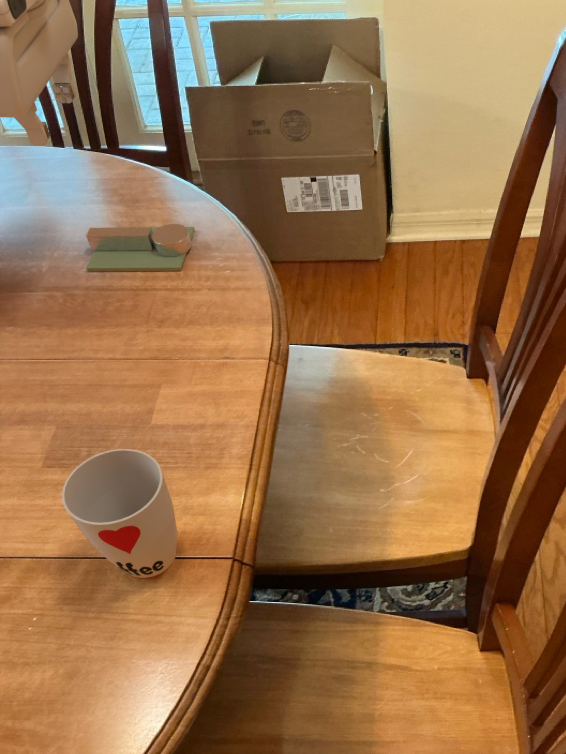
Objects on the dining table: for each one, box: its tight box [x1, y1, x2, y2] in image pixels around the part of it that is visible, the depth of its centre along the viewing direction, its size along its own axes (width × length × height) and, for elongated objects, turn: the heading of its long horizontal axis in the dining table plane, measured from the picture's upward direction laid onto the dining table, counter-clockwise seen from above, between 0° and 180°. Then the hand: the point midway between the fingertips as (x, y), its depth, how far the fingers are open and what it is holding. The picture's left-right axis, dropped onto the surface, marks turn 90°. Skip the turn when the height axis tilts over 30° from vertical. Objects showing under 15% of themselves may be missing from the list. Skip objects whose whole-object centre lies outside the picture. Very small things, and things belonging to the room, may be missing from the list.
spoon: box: [85, 223, 192, 257], centre depth 98 cm, size 13×5×2 cm, turn 88°
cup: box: [61, 448, 178, 579], centre depth 67 cm, size 8×8×10 cm
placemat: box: [86, 226, 196, 272], centre depth 99 cm, size 12×9×1 cm
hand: (55, 120), depth 84 cm, fingers open, 8 cm apart
